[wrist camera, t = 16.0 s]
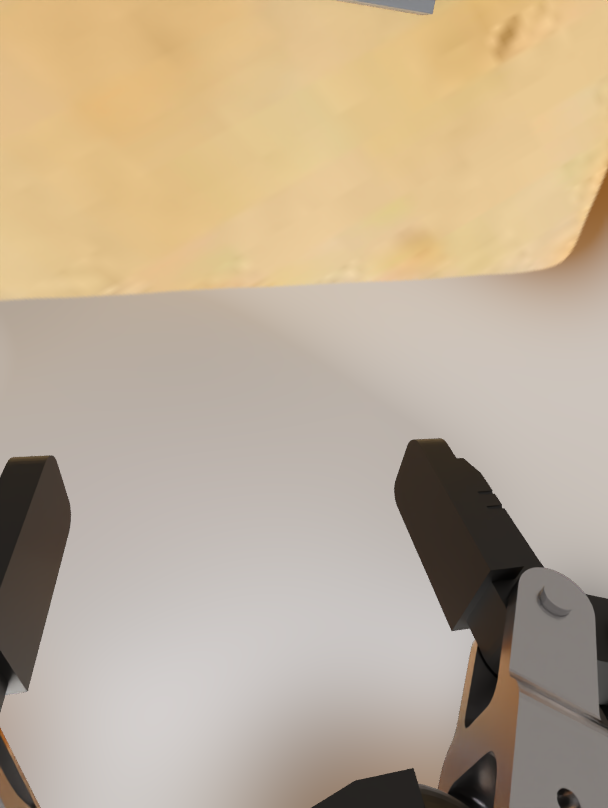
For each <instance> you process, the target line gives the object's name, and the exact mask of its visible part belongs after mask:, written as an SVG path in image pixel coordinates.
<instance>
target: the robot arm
mask: <svg viewBox="0 0 608 808" xmlns="http://www.w3.org/2000/svg"><path fill="white" fill-rule="evenodd" d="M394 493H395V500H396V504H397V507H398V509H399V511H400V514H401V516H402V518H403V520H404V523H405V525H406V527H407V530H408V532H409V534H410V537H411V539H412V541H413V543H414V546H415V548H416V550H417V553H418V554H419V557H420V559H421V562H422V564H423V566H424V569H425V571H426V573H427V575H428V578H429V580H430V582H431V585H432V587H433V589H434V591H435V594H436V596H437V598H438V601H439V603H440V605H441V608H442V610H443V612H444V614H445V617H446V619H447V621H448V624H449V626H450V628H451V630H452V631H455V630H462V629H469V628H470V629H471V631H472V634H473V636H474V638H475V640H474V642H473V644H472V647H471V652H470V657H469V663H468V668H467V673H466V679H465V684H464V689H463V696H462V700H461V706H460V711H459V716H458V722H457V727H456V731H455V734H454V738H453V741H452V743H451V745H450V747H449V750H448V752H447V755H446V757H445V760H444V763H443V767H442V771H441V775H440V780H439V785H438V789H436V788H432V787H429V786H426V785H422V784H418V782H417V779H416V776H415V772H414V769H413V768H412V769H407V770H403V771H398V772H393V773H389V774H384V775H379V776H376V777H370V778H366V779H361V780H356V781H354V782H352V783H351V784H349V785H347V786H346V787H344V788H342V789H341V790H339V791H338V792H336V793H334V794H333V795H331V796H330V797H328V798H327V799H325V800H323V801H322V802H320V803H318V804H317V805H315V806H313V807H312V808H608V599H606V598H601V597H596V596H591V595H587V594H585V593H584V592H583V591H582V590H581V588H580V587H579V586H578V585H577V584H576V583H574V582H573V581H572V580H571V579H569V578H568V577H566V576H565V575H563V574H561V573H559V572H557V571H554V570H551V569H548V568H544V567H543V565H542V564H541V563H540V561H539V560H538V558H537V557H536V556H535V554H534V552H533V551H532V549H531V548H530V546H529V545H528V543H527V542H526V540H525V539H524V537H523V536H522V534H521V533H520V531H519V530H518V528H517V527H516V525H515V524H514V522H513V521H512V519H511V518H510V516H509V515H508V514H507V512H506V510H505V509H503V508H502V504H501V503H500V501H499V500H498V498H497V497H496V495H495V494H493V493H492V489H491V488H490V486H489V485H488V483H487V482H486V480H485V479H484V477H483V476H482V474H481V473H480V472H479V471H478V470H476V469H475V468H474V467H473V466H472V465H471V464H469V463H468V462H467V461H466V460H465V459H464V458H456V457H455V455H454V454H453V452H452V450H451V449H450V447H449V446H448V444H447V443H446V442H445V441H444V440H443V439H440V438H438V439H417V440H411V441H410V442H409V443H408V446H407V449H406V451H405V455H404V457H403V460H402V463H401V466H400V469H399V472H398V475H397V478H396V481H395V487H394ZM70 522H71V510H70V503H69V499H68V496H67V493H66V490H65V486H64V483H63V480H62V477H61V474H60V470H59V467H58V464H57V461H56V459H55V457H54V456H30V457H13V458H10V459H9V460H8V462H7V464H6V466H5V468H4V470H3V472H2V474H1V477H0V711H1V708H2V705H3V701H4V698H5V695H10V694H17V693H24V692H27V691H28V688H29V684H30V680H31V676H32V672H33V668H34V664H35V660H36V657H37V653H38V649H39V645H40V641H41V637H42V634H43V630H44V626H45V622H46V618H47V614H48V611H49V607H50V603H51V599H52V595H53V591H54V587H55V584H56V580H57V576H58V572H59V568H60V565H61V561H62V557H63V553H64V549H65V545H66V541H67V538H68V534H69V529H70ZM0 808H41V807H40V805H39V803H38V802H37V800H36V798H35V796H34V794H33V792H32V790H31V788H30V786H29V784H28V782H27V780H26V778H25V776H24V774H23V772H22V770H21V768H20V766H19V764H18V762H17V760H16V758H15V756H14V754H13V752H12V750H11V748H10V746H9V744H8V742H7V740H6V738H5V736H4V734H3V732H2V730H1V728H0Z"/></svg>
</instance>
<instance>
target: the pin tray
mask: <svg viewBox="0 0 608 808" xmlns="http://www.w3.org/2000/svg"><path fill="white" fill-rule="evenodd" d="M337 1H343V2H349V3H355V4H361V5H367V6H372V7H378V8H384V9H390V10H396V11H402V12H407V13H413V14H419V15H429V14H432V13H433V9H434V4H435V0H337Z"/></svg>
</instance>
